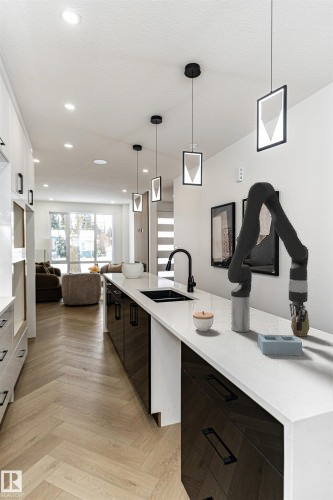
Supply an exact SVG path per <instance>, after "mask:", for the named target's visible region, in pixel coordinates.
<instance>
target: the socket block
mask: <svg viewBox="0 0 333 500" xmlns="http://www.w3.org/2000/svg"><path fill="white" fill-rule="evenodd" d="M297 337H298V336H296V335H294V334H293V335H292V334H291V335H289V334H286V335H285V334H283V335H282V334H257V347H258V349H259V350H260V352H261V354H262V355H277V356H278V355H281V356H282V355H283V356H284V355H286V356H303V342H302V341H301V340H300V339H299V338H297Z"/></svg>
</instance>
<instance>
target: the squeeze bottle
mask: <svg viewBox="0 0 333 500" xmlns="http://www.w3.org/2000/svg"><path fill="white" fill-rule="evenodd" d="M303 305H304V310H306V305H305V304H303ZM293 320H294V319H292V318H291V323H290V328H291V332H292V333H293V335H294V336H295V337H302V338H303V337H307V336H308V335H309V334H308V333H309V331H310V320H309V311H308V310H307V313H306V318H305V322H302V331H301V335H295V334H294V328H293Z"/></svg>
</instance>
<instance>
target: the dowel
mask: <svg viewBox="0 0 333 500" xmlns="http://www.w3.org/2000/svg"><path fill="white" fill-rule="evenodd" d="M297 315H299V314H297ZM294 334H295V335H294ZM294 334H293V335H294V336H296V335H301V331H297V330H296V316H295V311H294Z"/></svg>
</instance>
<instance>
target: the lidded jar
mask: <svg viewBox="0 0 333 500" xmlns="http://www.w3.org/2000/svg"><path fill="white" fill-rule="evenodd" d="M214 318H215V315H214V314H213V313H211V312H205V311H202V310H201V311H200V312H195V313H193V314H192V321H193V325H194V327H195V329H197V331H200V332H208V331H209V330H210V329H211V328H212V327H213V325H214Z"/></svg>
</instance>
